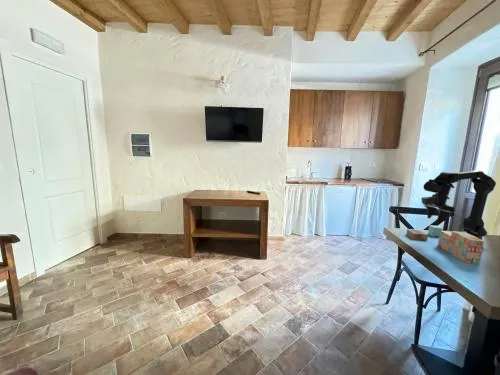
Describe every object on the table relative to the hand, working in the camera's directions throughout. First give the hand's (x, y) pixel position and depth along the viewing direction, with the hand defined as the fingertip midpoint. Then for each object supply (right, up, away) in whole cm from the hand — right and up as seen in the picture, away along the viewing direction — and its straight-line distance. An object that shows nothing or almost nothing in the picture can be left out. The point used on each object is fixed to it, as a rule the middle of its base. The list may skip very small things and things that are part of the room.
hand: (433, 220), depth 126 cm
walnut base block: (0, -13, +12) cm, 18 cm away
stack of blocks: (+4, -17, -10) cm, 20 cm away
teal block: (+15, -13, +18) cm, 27 cm away
